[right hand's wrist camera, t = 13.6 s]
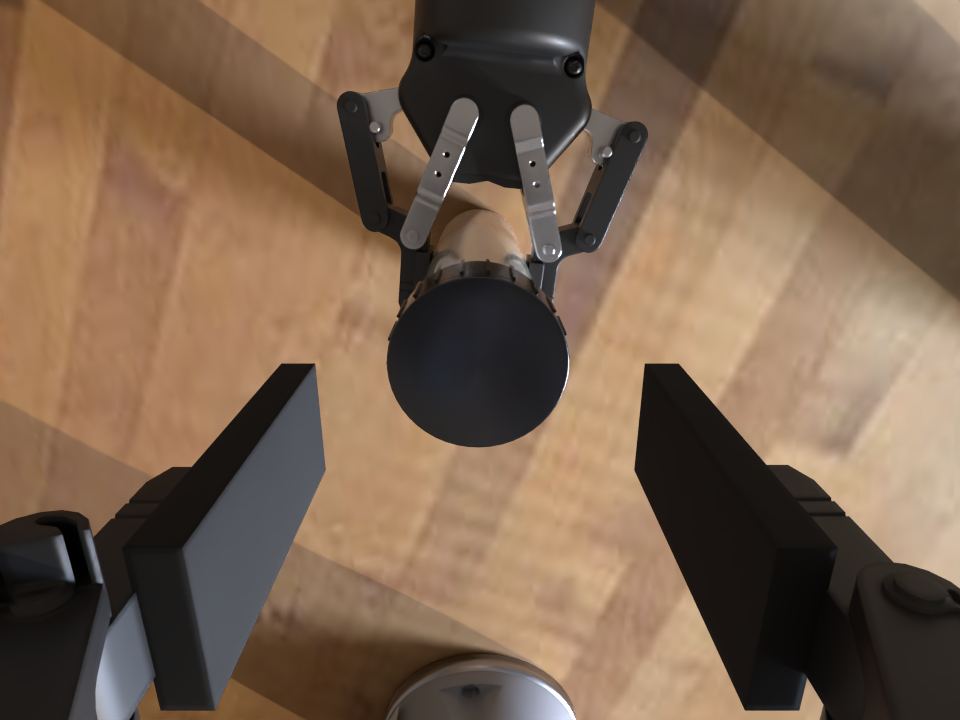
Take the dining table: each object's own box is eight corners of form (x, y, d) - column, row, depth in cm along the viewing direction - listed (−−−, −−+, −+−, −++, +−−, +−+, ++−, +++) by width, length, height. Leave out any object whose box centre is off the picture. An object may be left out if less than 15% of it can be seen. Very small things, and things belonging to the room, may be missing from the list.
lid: (573, 267, 19) (585, 284, 17) (547, 424, 21) (555, 458, 19) (400, 248, 19) (390, 263, 17) (389, 408, 21) (379, 440, 19)
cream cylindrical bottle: (523, 213, 36) (569, 292, 17) (512, 292, 37) (544, 439, 19) (442, 204, 35) (404, 275, 17) (435, 284, 37) (393, 424, 19)
